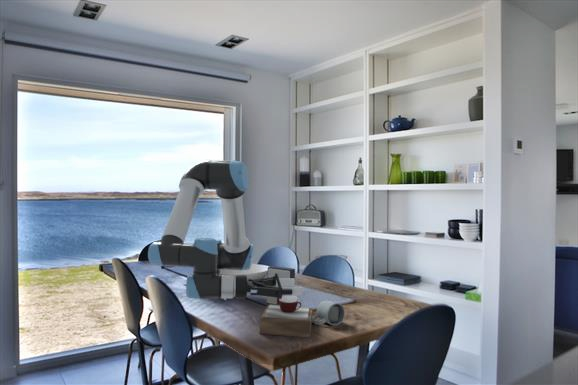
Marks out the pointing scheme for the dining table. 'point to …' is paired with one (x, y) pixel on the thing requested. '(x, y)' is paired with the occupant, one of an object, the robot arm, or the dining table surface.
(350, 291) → the dining table surface
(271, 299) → the calculator
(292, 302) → the cocoa
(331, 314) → the ceramic mug
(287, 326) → the walnut stand
